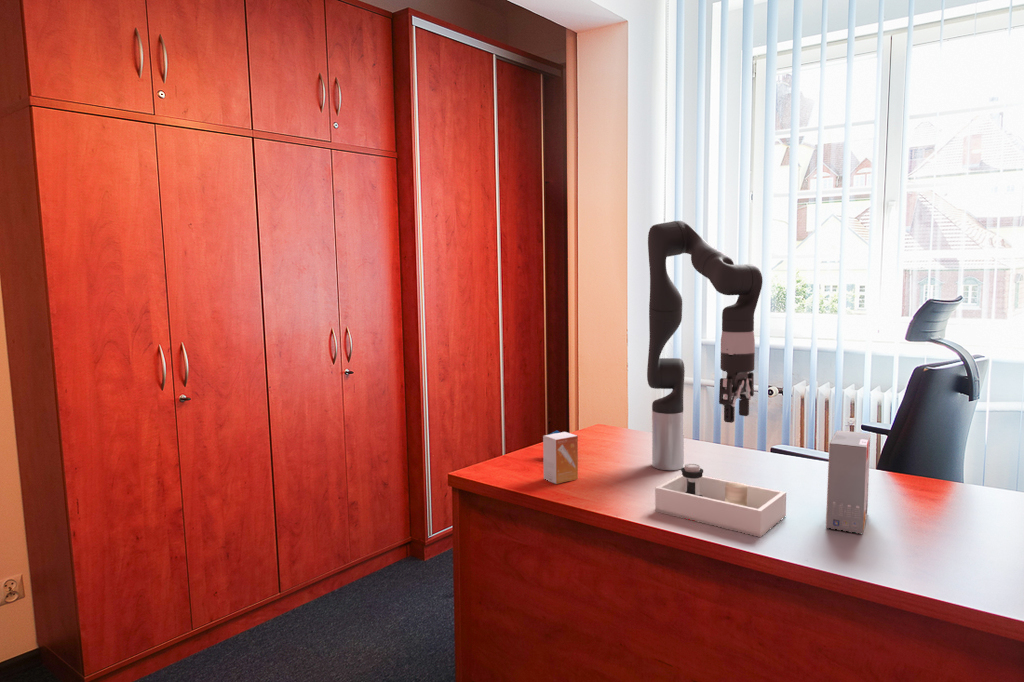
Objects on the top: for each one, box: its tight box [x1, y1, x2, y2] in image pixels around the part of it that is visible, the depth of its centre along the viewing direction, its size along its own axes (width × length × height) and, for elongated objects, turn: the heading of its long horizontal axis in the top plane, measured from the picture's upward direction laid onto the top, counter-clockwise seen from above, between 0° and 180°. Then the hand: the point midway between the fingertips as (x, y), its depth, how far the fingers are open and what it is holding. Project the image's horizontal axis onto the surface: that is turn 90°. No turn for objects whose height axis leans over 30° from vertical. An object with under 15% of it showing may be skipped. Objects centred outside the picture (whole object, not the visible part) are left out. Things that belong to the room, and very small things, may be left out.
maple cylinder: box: [725, 481, 748, 506], centre depth 155 cm, size 5×5×7 cm
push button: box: [680, 463, 704, 497], centre depth 161 cm, size 7×5×10 cm
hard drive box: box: [825, 429, 872, 534], centre depth 150 cm, size 16×8×20 cm, turn 148°
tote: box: [654, 473, 787, 538], centre depth 157 cm, size 16×26×6 cm, turn 48°
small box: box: [542, 431, 579, 485], centre depth 187 cm, size 8×6×13 cm
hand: (736, 418), depth 153 cm, fingers open, 8 cm apart
